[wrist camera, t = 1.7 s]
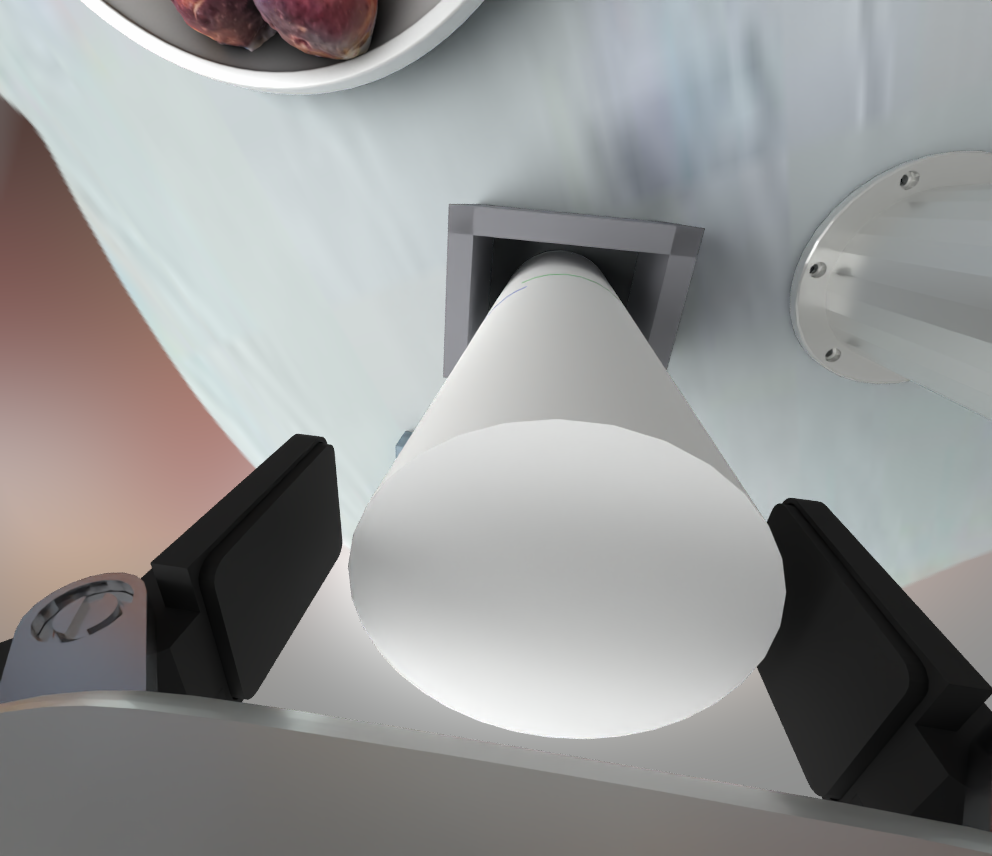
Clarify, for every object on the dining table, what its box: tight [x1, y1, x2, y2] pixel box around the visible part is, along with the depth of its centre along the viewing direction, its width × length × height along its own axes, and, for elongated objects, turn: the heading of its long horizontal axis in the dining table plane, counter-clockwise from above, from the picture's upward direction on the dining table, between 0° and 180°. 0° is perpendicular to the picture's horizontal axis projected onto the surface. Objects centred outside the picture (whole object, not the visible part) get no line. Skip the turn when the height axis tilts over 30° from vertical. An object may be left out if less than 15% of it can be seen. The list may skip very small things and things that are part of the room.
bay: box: [443, 204, 705, 378], centre depth 26 cm, size 11×8×8 cm
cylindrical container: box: [348, 250, 786, 739], centre depth 19 cm, size 7×7×25 cm
